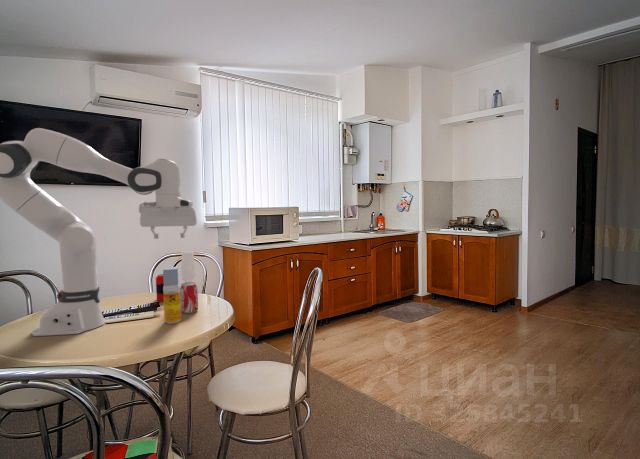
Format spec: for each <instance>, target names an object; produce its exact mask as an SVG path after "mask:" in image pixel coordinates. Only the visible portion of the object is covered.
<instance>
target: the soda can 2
mask: <svg viewBox="0 0 640 459" xmlns="http://www.w3.org/2000/svg"><path fill="white" fill-rule="evenodd" d="M198 292H199V291H198V286H197V283H196V282H194V281H193V282H187V283H185V282H182V283H181V285H180V297H181V313H183V314H194V313H195V312H196V311H198V309H199V293H198Z"/></svg>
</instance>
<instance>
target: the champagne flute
mask: <svg viewBox="0 0 640 459" xmlns="http://www.w3.org/2000/svg"><path fill="white" fill-rule="evenodd" d="M196 278H197V269H196V262H195V256H194V251H192V250H190V251H181V263H180V279H181V280H182V281H183V283H187V282H194V281H195V279H196Z"/></svg>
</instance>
